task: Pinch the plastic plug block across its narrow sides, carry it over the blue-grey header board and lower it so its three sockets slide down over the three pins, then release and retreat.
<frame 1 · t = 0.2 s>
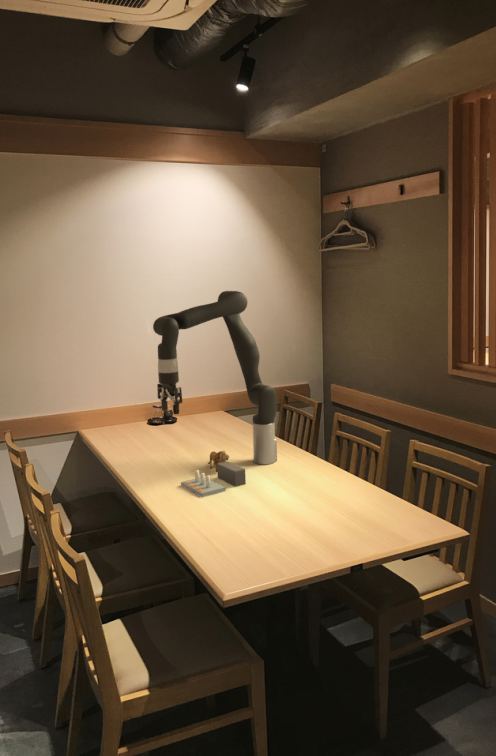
hand: (170, 412, 246), 29 cm above the table, fingers open, 8 cm apart
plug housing: (231, 481, 252), on the table
header board: (202, 488, 245), on the table
lion figurine: (217, 469, 268), on the table
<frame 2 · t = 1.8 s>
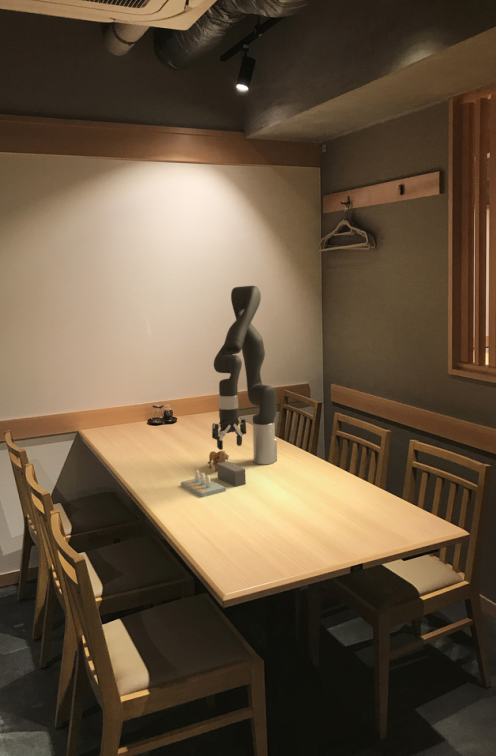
hand: (229, 447, 250), 14 cm above the table, fingers open, 8 cm apart
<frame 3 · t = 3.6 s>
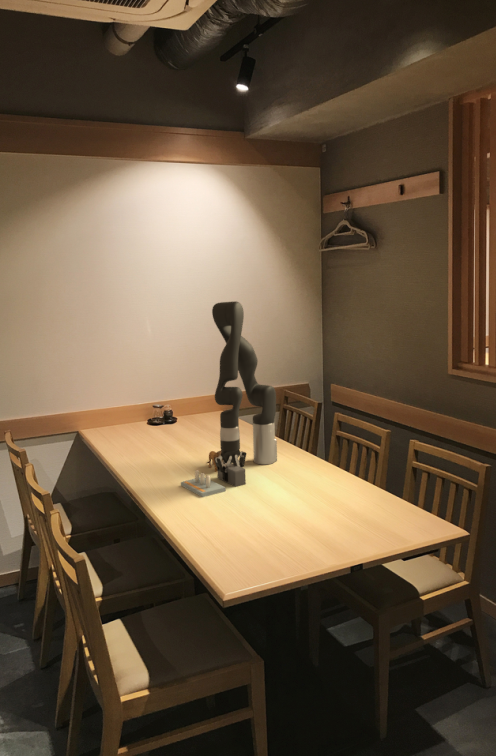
hand: (231, 479, 252), 1 cm above the table, fingers closed on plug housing, 4 cm apart
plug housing: (231, 481, 252), on the table, touching gripper
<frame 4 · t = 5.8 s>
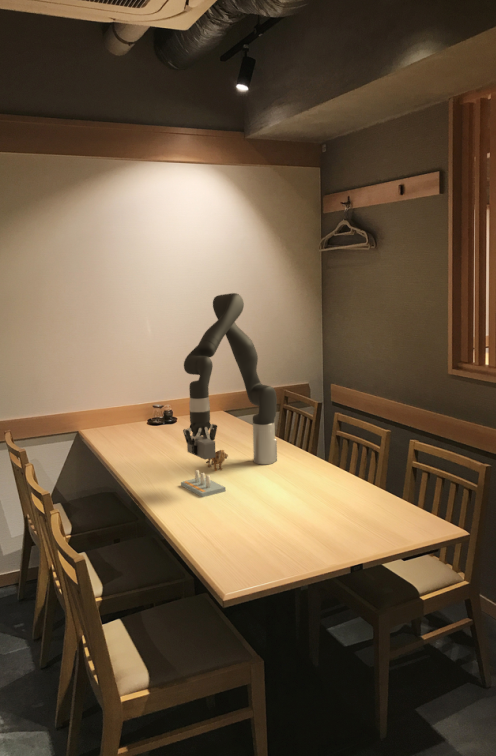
hand: (201, 453, 243), 14 cm above the table, fingers closed on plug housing, 4 cm apart
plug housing: (201, 454, 243), point 13 cm above the table, touching gripper
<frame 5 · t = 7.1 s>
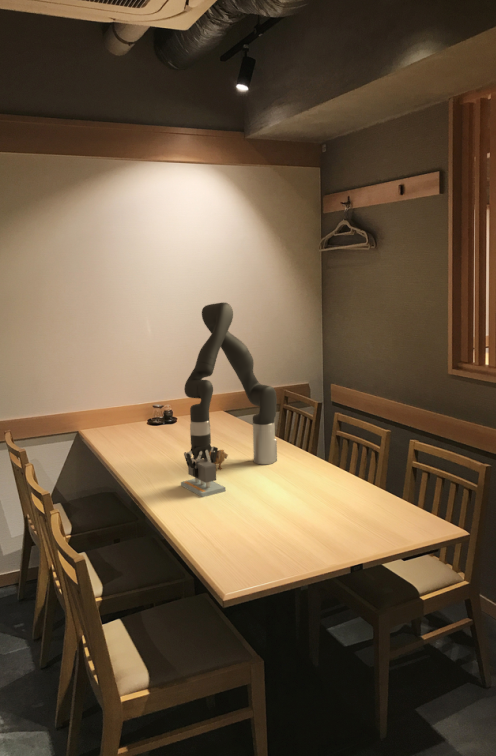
hand: (202, 475, 244), 5 cm above the table, fingers closed on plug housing, 4 cm apart
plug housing: (202, 477, 244), point 4 cm above the table, touching gripper
when the fingers open (3 cm above the table, at t = 8.0 s): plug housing stays where it is, resting on header board.
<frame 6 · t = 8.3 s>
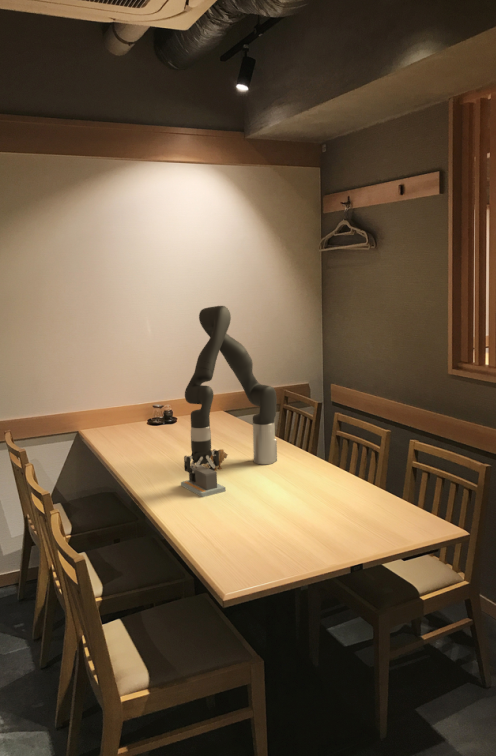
hand: (202, 479, 244), 3 cm above the table, fingers open, 7 cm apart
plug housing: (203, 484, 245), point 1 cm above the table, touching header board
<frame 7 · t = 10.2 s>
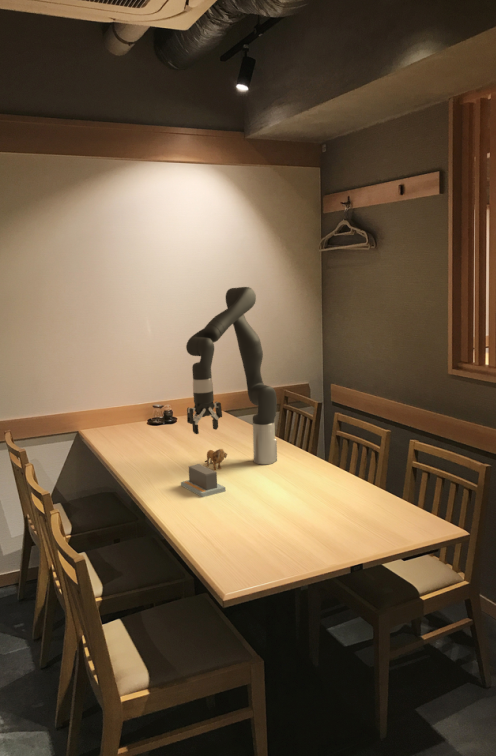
hand: (205, 431, 246), 21 cm above the table, fingers open, 8 cm apart
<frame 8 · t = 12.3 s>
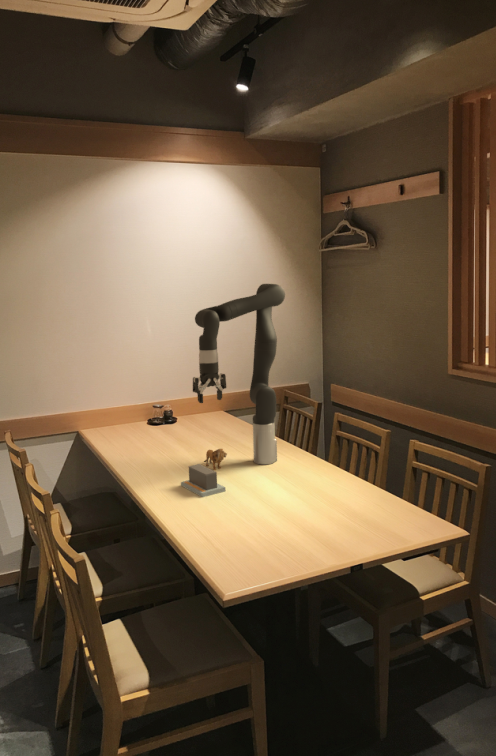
hand: (210, 401, 256), 30 cm above the table, fingers open, 8 cm apart
at the end: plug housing 0.1 cm off-centre on the header board, point 1.5 cm above the header board's base; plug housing tilted 0°; the gripper is holding nothing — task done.
